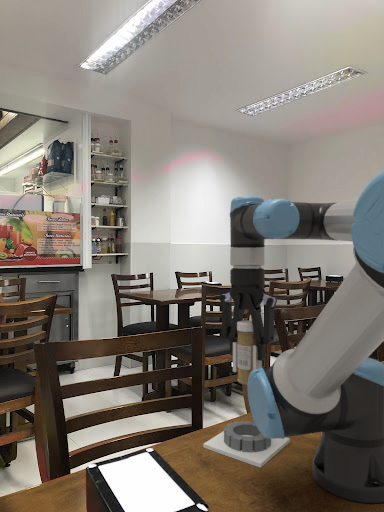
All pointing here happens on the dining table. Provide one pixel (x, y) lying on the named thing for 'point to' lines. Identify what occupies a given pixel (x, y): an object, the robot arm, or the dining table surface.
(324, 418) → the robot arm
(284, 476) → the dining table surface
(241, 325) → the sprinkles bottle
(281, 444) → the socket board
